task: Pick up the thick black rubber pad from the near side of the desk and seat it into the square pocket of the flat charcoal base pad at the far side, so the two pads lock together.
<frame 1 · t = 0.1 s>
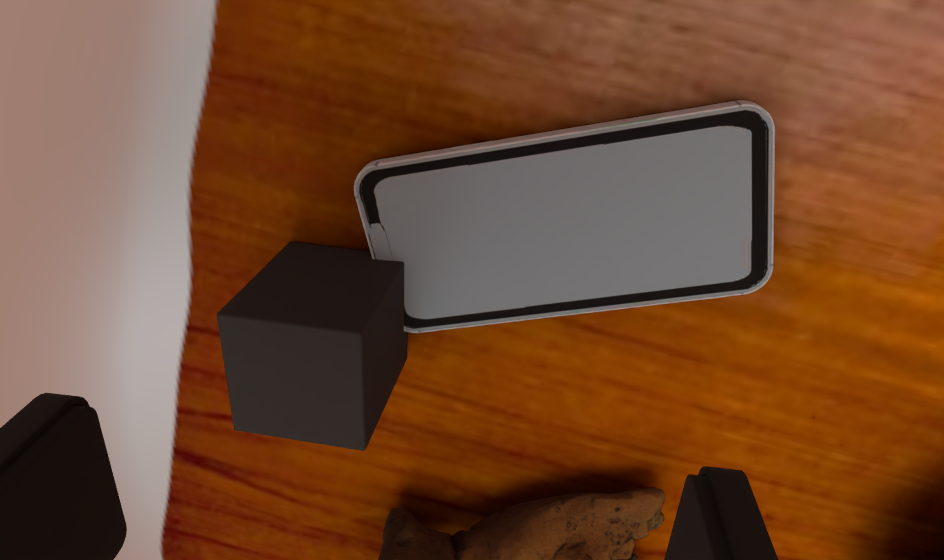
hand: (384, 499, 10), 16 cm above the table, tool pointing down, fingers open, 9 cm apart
smartphone: (562, 221, 25), on the table, touching black pad
black pad: (350, 301, 28), on the table, touching smartphone
sculpture: (502, 513, 33), on the table
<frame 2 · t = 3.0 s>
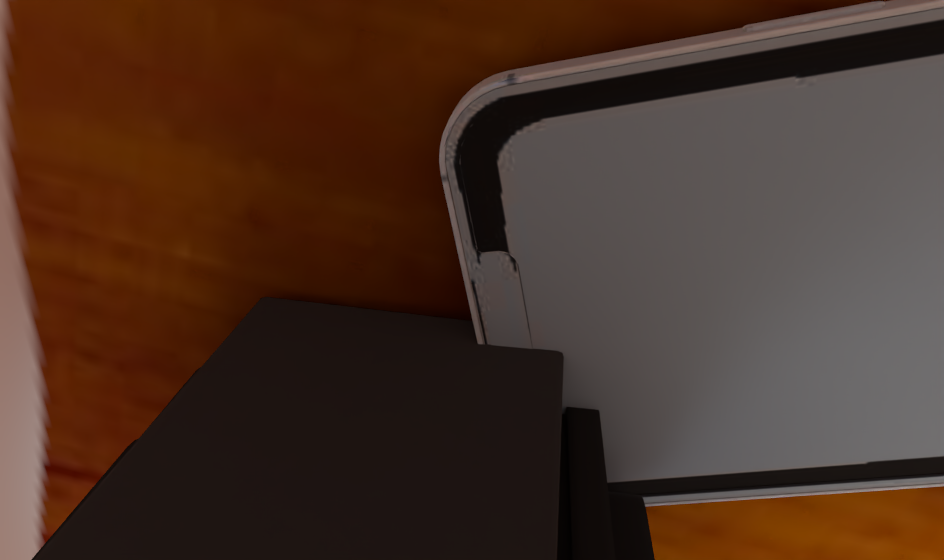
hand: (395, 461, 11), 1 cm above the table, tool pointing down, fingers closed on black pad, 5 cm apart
black pad: (409, 430, 12), on the table, touching gripper, smartphone
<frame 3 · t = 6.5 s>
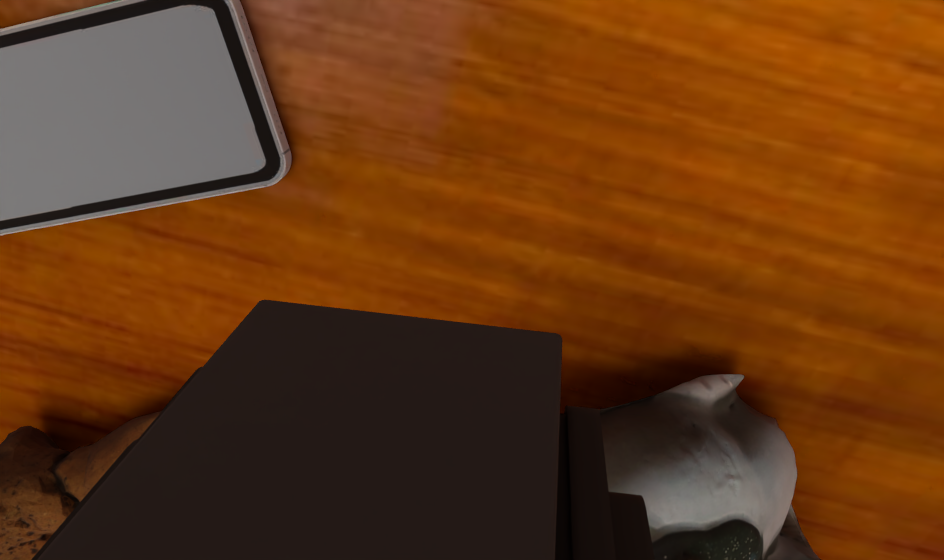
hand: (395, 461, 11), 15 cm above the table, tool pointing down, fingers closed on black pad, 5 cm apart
smartphone: (92, 118, 25), on the table
lucky cat figurine: (646, 476, 31), on the table
black pad: (407, 432, 12), point 15 cm above the table, touching gripper
sculpture: (145, 434, 33), on the table
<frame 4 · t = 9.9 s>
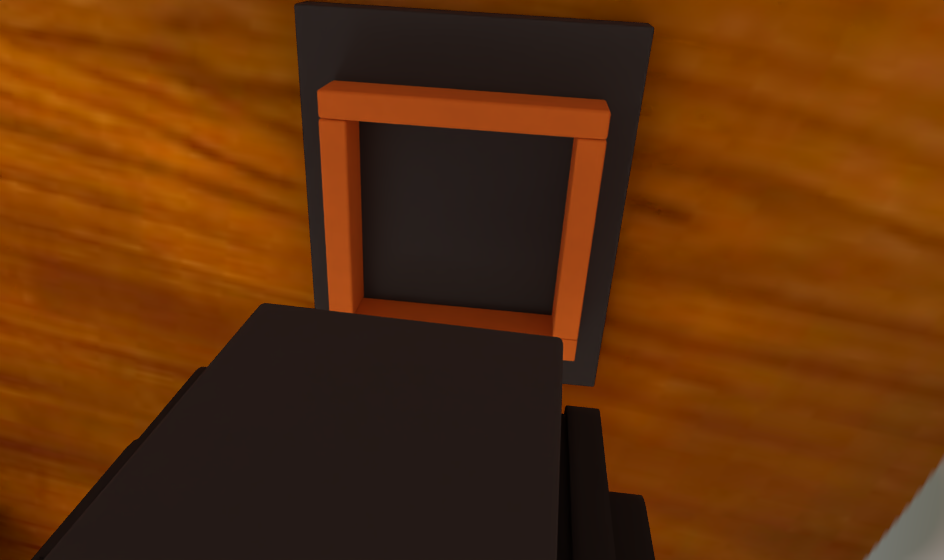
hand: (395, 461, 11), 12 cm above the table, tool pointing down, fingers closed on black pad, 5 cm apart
black pad: (408, 435, 12), point 11 cm above the table, touching gripper
base pad: (464, 207, 22), on the table
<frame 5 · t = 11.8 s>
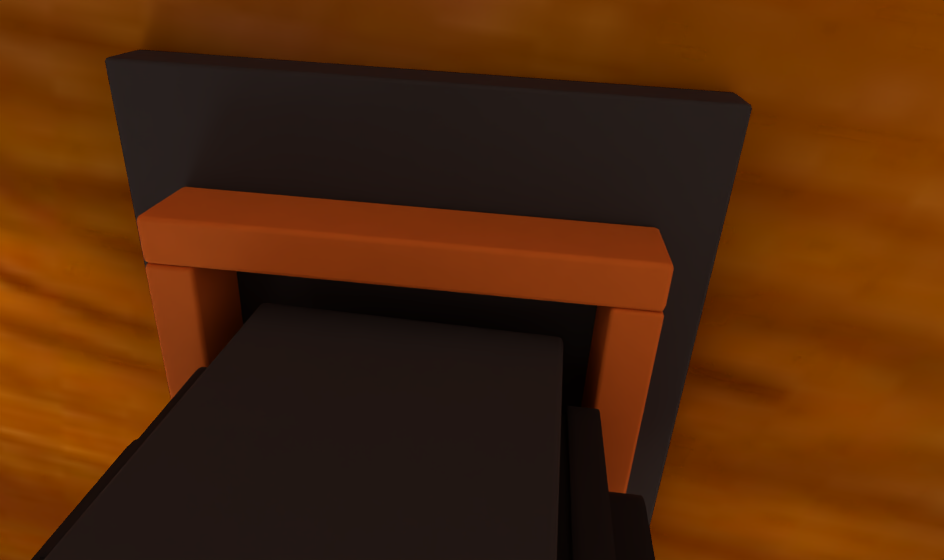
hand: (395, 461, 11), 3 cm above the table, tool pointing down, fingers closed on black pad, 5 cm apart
black pad: (408, 435, 12), point 2 cm above the table, touching gripper
base pad: (421, 369, 14), on the table
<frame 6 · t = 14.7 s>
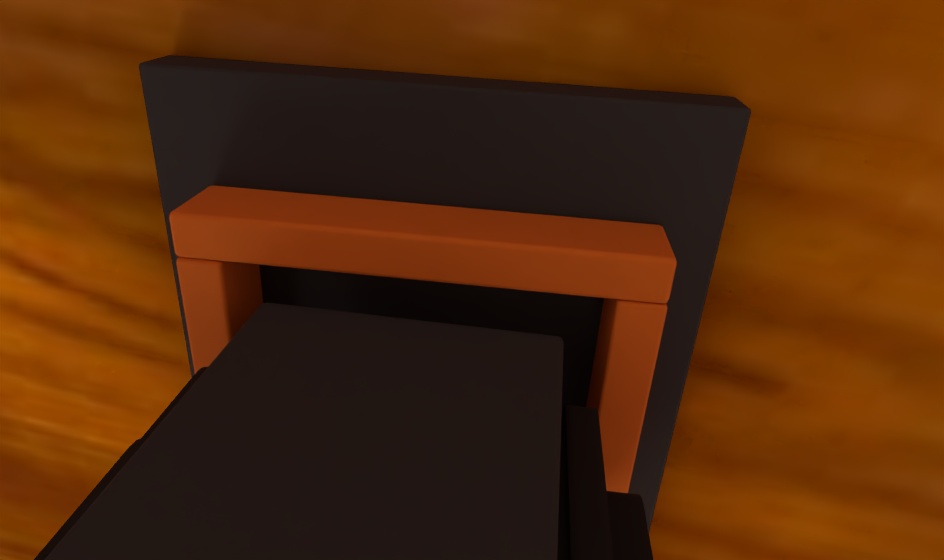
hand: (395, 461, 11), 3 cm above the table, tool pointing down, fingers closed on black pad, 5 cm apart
black pad: (409, 434, 12), point 3 cm above the table, touching gripper
base pad: (434, 362, 14), on the table
when the fingers open (3 cm above the table, at t = 17.3 s): black pad drops 2 cm, resting on base pad.
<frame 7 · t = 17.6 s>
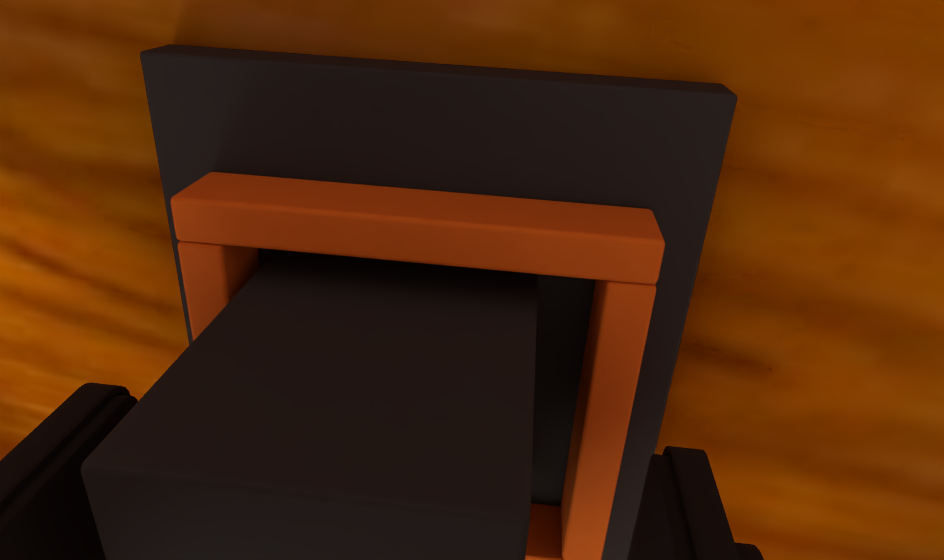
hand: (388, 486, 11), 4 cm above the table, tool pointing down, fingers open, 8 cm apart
black pad: (405, 368, 13), point 1 cm above the table, touching base pad
base pad: (430, 347, 14), on the table
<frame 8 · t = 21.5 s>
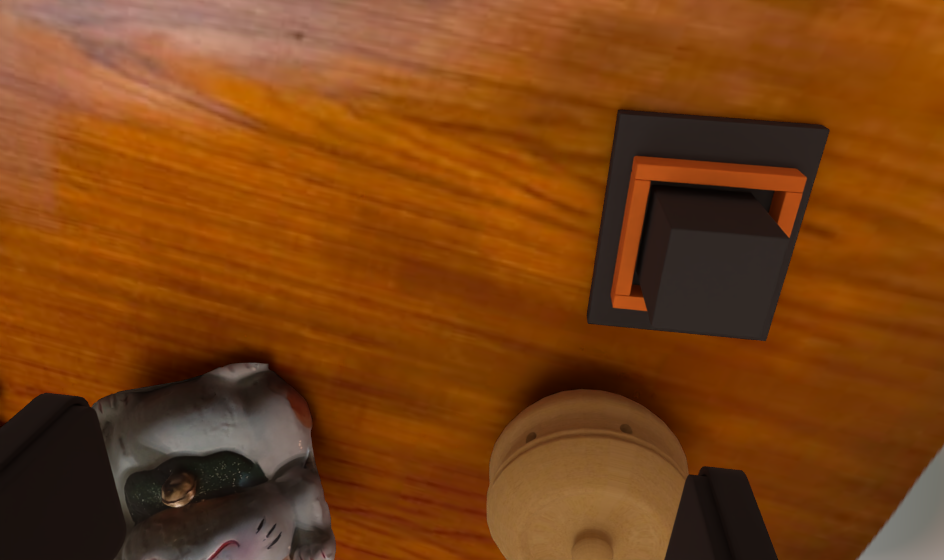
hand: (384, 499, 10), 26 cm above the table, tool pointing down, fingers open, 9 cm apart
lucky cat figurine: (246, 432, 45), on the table
pot: (583, 434, 42), on the table
black pad: (691, 233, 34), point 1 cm above the table, touching base pad
base pad: (694, 228, 35), on the table
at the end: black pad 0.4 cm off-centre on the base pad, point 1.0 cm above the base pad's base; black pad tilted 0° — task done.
